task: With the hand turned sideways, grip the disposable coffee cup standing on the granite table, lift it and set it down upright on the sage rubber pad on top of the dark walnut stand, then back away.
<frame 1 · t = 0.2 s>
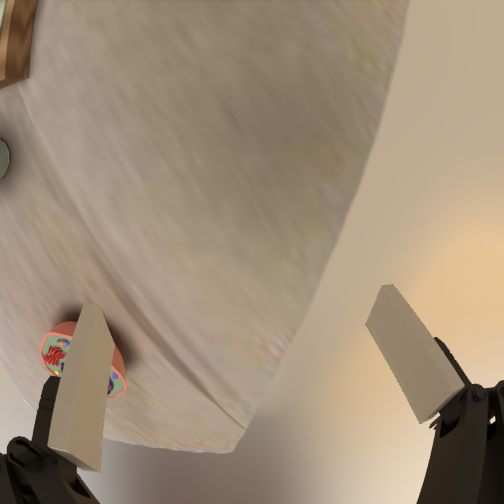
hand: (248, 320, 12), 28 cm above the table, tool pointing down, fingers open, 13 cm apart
cell model: (89, 338, 48), on the table
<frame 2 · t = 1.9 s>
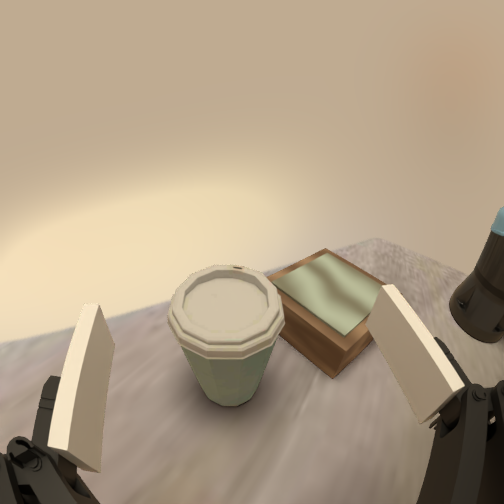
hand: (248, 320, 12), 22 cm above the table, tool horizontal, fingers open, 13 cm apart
walnut stand: (325, 318, 43), on the table
disposable coffee cup: (226, 385, 33), on the table
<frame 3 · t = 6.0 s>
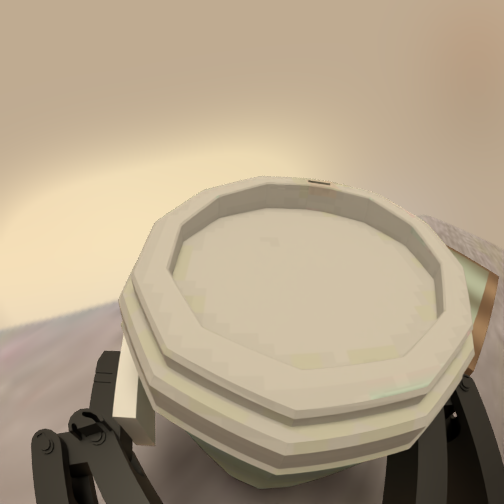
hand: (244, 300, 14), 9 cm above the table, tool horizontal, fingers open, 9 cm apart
walnut stand: (399, 317, 25), on the table
disposable coffee cup: (263, 445, 15), on the table, touching gripper
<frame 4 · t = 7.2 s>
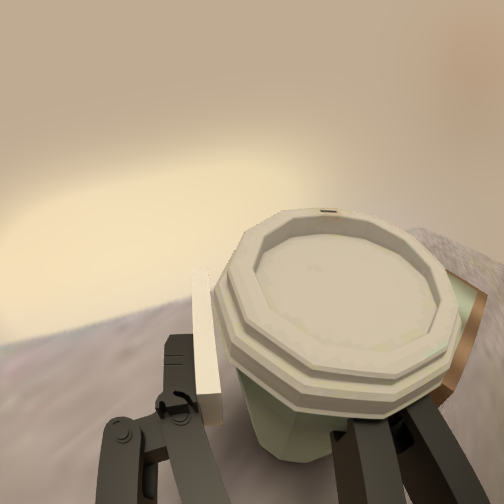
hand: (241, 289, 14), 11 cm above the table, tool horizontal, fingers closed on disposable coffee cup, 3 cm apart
walnut stand: (389, 334, 27), on the table
disposable coffee cup: (292, 427, 18), on the table, touching gripper
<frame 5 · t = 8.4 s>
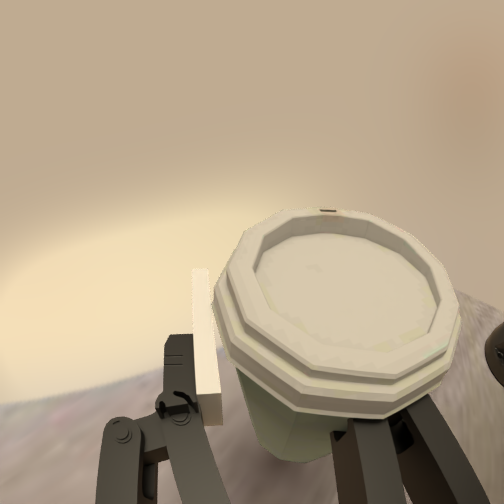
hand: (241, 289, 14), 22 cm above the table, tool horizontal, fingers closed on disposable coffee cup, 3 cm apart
disposable coffee cup: (293, 427, 18), point 11 cm above the table, touching gripper
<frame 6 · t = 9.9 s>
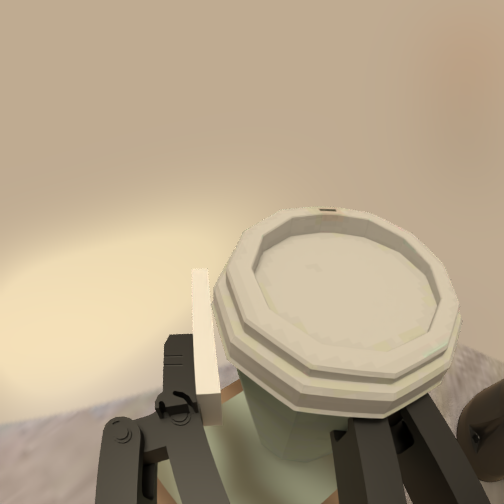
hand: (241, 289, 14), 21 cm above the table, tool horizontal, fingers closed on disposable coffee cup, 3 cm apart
walnut stand: (244, 482, 21), on the table
disposable coffee cup: (294, 426, 18), point 10 cm above the table, touching gripper
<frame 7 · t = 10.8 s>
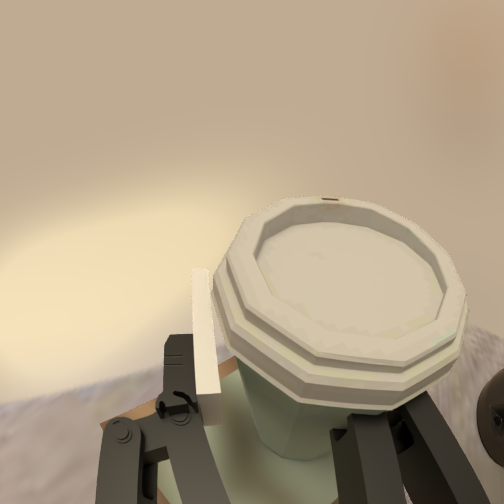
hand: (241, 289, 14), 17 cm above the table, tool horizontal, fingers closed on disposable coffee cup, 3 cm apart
walnut stand: (246, 474, 19), on the table
disposable coffee cup: (295, 424, 18), point 6 cm above the table, touching gripper, walnut stand
when the fingers open (17 cm above the table, at t = 11.1 s): disposable coffee cup stays where it is, resting on walnut stand.
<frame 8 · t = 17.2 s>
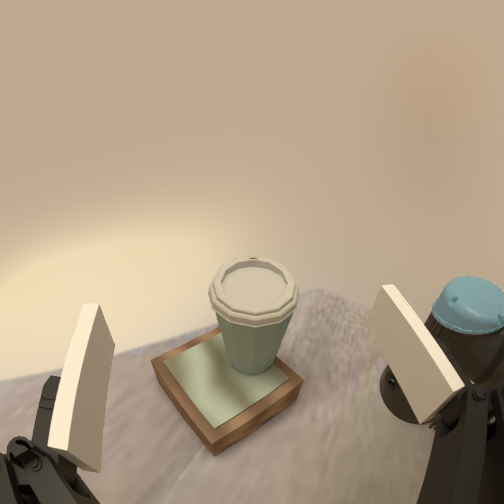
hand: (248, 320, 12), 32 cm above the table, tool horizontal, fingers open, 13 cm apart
walnut stand: (225, 392, 41), on the table
disposable coffee cup: (248, 359, 40), point 6 cm above the table, touching walnut stand
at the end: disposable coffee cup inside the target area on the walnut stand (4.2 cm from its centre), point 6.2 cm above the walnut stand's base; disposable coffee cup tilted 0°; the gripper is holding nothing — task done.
